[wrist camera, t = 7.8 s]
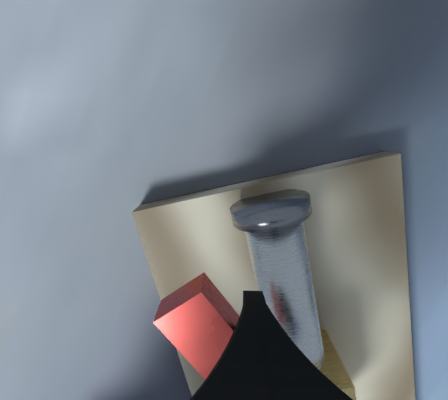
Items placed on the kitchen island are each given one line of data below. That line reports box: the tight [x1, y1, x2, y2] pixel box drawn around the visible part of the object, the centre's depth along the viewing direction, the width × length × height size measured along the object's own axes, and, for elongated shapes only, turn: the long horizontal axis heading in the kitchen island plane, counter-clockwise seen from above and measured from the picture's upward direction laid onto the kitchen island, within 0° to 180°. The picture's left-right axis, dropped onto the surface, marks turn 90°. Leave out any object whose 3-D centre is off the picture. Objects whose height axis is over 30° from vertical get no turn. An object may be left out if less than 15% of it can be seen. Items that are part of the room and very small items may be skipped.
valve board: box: [132, 151, 415, 400], centre depth 19 cm, size 15×26×2 cm, turn 13°
